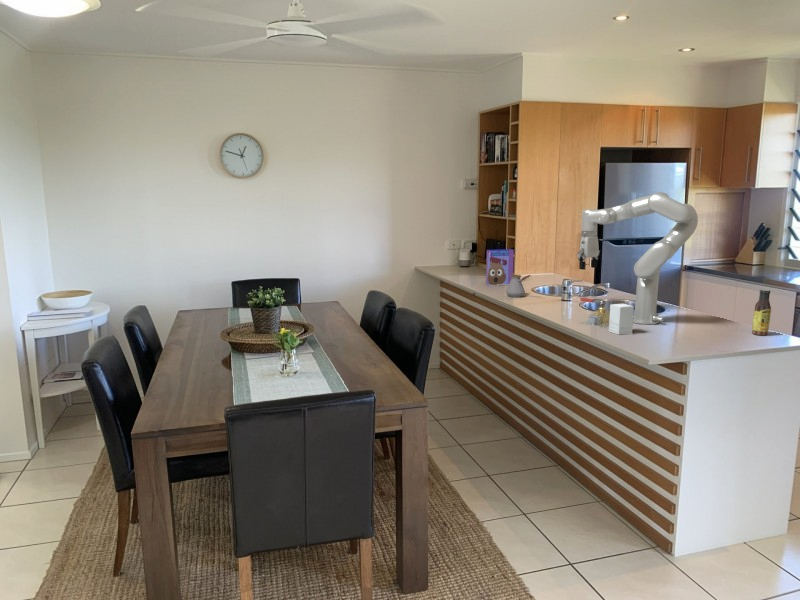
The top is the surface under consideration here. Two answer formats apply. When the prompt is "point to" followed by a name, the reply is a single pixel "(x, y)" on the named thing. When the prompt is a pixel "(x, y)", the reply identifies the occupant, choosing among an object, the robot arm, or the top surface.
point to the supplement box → (621, 319)
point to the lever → (593, 301)
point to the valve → (598, 318)
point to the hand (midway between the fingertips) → (588, 268)
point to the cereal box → (499, 266)
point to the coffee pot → (516, 286)
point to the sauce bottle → (762, 314)
